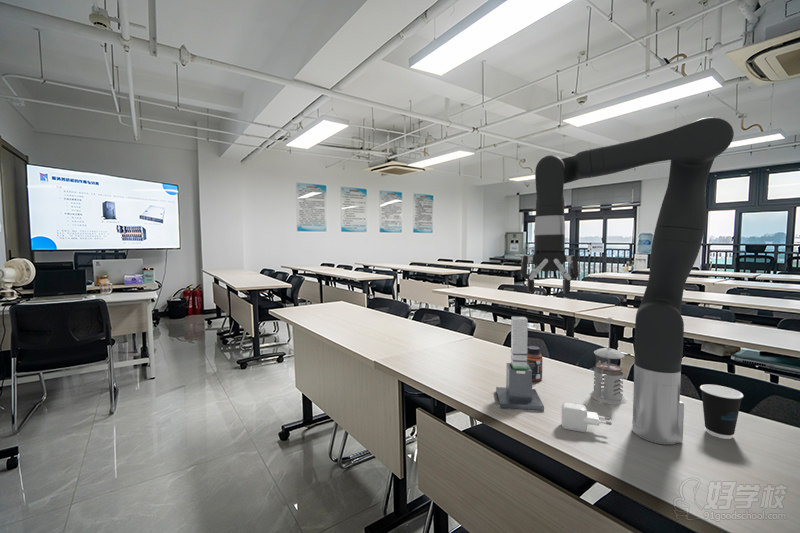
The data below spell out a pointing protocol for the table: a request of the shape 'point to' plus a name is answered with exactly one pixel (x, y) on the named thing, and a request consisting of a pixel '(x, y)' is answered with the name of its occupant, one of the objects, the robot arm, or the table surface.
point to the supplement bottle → (535, 362)
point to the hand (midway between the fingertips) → (548, 293)
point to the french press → (608, 376)
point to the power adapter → (579, 417)
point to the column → (519, 343)
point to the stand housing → (519, 391)
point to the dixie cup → (720, 410)
